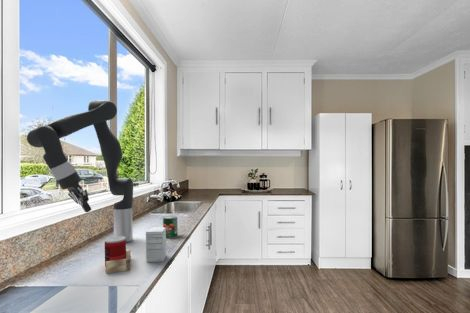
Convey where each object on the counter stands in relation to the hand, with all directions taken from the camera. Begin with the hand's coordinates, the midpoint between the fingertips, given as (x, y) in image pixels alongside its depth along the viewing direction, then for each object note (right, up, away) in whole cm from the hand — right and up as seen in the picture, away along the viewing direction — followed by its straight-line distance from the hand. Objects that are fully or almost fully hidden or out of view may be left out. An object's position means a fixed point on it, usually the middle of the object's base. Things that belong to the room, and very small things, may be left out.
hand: (88, 210), depth 114 cm
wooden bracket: (+13, -22, -2) cm, 26 cm away
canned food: (+12, -22, -2) cm, 25 cm away
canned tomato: (+24, -22, +40) cm, 52 cm away
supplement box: (+27, -22, +5) cm, 35 cm away
